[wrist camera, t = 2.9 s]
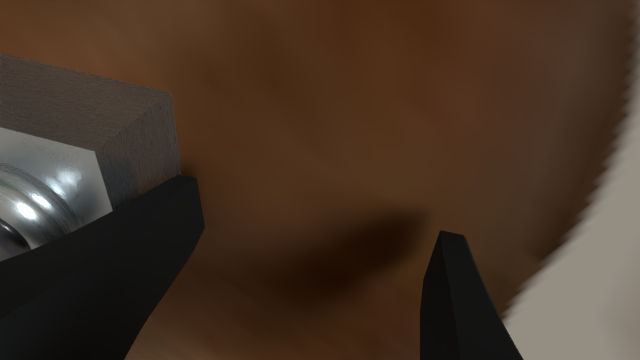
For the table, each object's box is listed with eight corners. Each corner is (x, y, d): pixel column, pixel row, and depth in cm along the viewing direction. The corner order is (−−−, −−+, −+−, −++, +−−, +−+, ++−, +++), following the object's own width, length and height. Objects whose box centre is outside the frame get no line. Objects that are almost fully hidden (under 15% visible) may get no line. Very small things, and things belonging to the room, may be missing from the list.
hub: (193, 228, 16) (117, 332, 12) (59, 192, 16) (-49, 279, 13) (174, 89, 12) (56, 180, 8) (2, 50, 13) (-173, 118, 9)
